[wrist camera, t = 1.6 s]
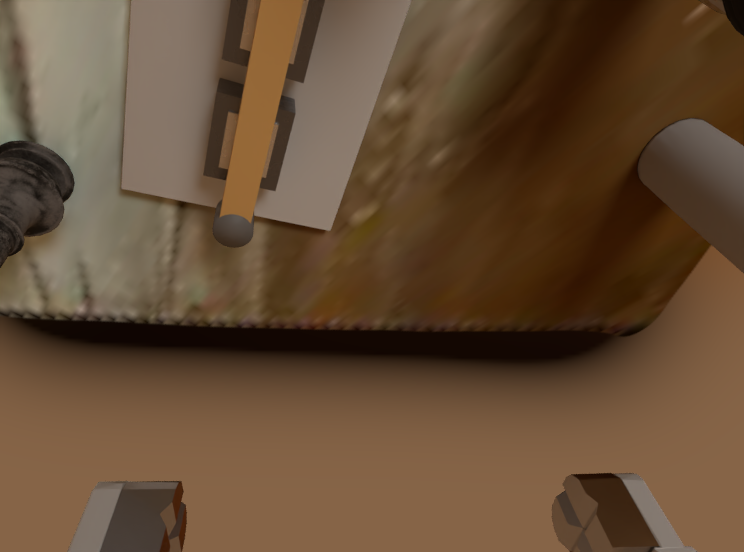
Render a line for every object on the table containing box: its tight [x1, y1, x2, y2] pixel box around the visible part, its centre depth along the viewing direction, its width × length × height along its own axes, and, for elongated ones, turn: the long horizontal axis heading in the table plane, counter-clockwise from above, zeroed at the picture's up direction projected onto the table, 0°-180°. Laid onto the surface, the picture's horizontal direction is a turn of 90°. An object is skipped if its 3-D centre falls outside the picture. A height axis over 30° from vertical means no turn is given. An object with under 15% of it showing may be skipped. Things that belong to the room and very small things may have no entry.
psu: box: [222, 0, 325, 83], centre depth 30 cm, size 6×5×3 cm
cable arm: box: [213, 0, 304, 248], centre depth 29 cm, size 22×4×2 cm, turn 161°
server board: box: [121, 0, 411, 231], centre depth 32 cm, size 24×16×4 cm, turn 161°
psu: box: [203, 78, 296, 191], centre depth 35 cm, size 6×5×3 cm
